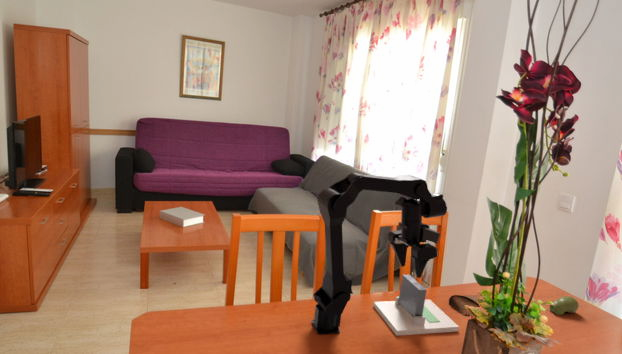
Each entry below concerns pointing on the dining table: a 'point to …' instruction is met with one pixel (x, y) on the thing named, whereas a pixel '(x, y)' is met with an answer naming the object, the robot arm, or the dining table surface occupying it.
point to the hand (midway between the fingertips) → (410, 271)
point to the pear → (564, 305)
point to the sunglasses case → (463, 302)
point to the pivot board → (415, 318)
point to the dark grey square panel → (412, 296)
